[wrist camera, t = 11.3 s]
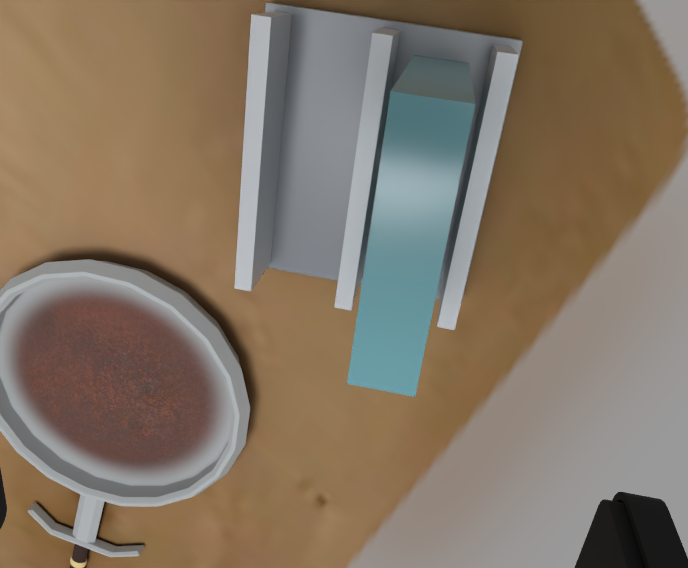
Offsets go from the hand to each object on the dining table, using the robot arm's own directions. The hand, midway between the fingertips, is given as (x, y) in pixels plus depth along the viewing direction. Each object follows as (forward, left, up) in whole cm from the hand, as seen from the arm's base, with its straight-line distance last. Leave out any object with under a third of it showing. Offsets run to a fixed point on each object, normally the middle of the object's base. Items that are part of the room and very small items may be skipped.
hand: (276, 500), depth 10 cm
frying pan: (+22, -15, -24) cm, 36 cm away
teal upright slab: (+1, +1, -23) cm, 23 cm away
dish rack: (+1, -1, -24) cm, 24 cm away
